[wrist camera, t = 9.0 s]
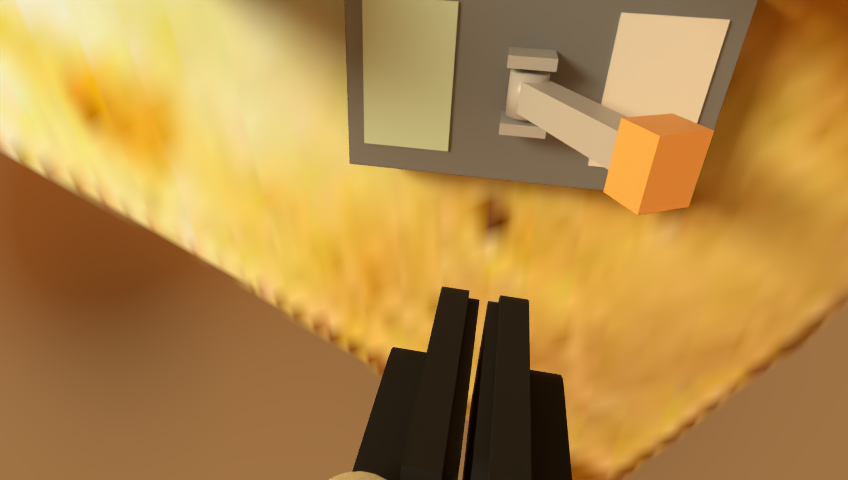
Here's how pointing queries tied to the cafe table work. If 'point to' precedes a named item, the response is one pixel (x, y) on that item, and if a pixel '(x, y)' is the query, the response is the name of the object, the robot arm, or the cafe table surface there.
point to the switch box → (532, 50)
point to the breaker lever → (617, 142)
